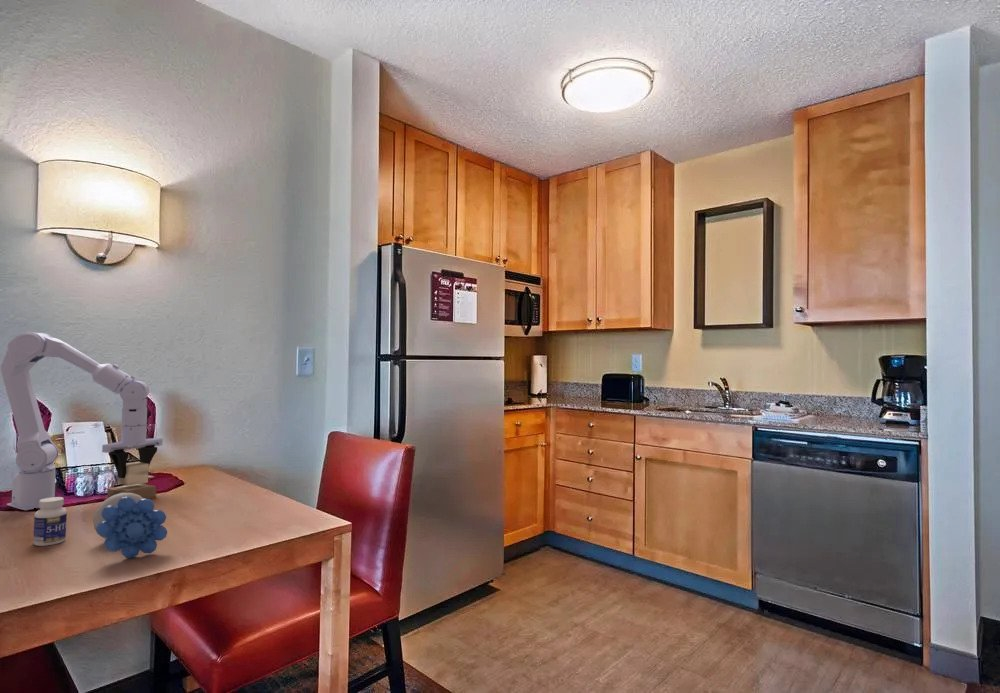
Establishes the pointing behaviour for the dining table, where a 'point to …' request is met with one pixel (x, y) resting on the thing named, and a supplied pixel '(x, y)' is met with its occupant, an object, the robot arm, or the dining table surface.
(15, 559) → the dining table surface
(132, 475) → the cube
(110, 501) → the donut
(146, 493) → the base
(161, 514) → the blue flower rosette
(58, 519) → the pill bottle
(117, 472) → the robot arm
